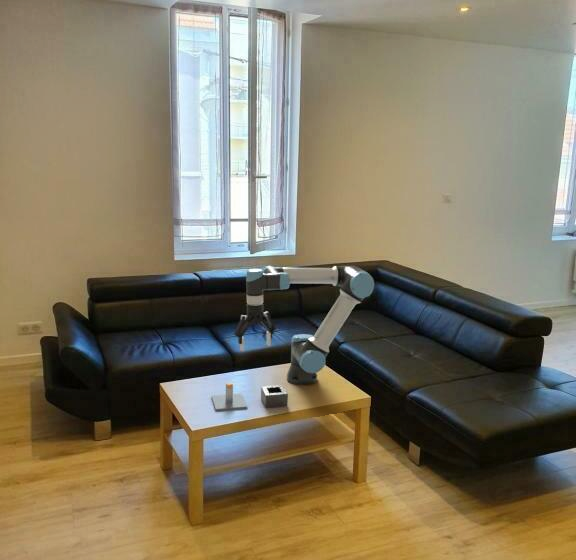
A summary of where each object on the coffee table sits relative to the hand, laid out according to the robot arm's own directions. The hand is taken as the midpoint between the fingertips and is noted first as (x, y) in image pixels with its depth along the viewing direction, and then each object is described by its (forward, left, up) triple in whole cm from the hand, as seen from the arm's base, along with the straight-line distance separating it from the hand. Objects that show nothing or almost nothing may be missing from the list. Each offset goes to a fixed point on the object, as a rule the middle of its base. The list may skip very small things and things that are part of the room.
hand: (255, 347), depth 266 cm
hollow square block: (-7, +12, -22) cm, 26 cm away
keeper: (+13, +9, -22) cm, 27 cm away
